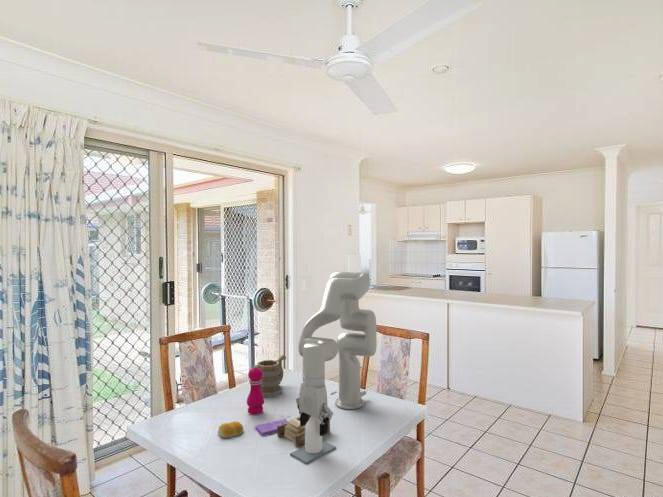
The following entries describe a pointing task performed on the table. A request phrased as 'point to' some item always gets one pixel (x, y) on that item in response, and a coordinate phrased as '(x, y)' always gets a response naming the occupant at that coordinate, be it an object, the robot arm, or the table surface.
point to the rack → (299, 437)
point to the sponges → (269, 427)
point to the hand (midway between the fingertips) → (313, 429)
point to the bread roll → (230, 429)
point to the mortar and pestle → (271, 376)
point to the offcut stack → (293, 429)
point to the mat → (309, 457)
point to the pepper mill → (255, 392)
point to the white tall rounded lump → (313, 436)
